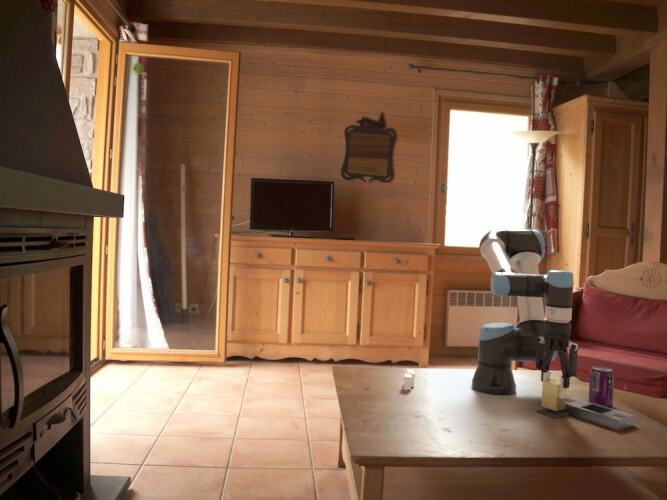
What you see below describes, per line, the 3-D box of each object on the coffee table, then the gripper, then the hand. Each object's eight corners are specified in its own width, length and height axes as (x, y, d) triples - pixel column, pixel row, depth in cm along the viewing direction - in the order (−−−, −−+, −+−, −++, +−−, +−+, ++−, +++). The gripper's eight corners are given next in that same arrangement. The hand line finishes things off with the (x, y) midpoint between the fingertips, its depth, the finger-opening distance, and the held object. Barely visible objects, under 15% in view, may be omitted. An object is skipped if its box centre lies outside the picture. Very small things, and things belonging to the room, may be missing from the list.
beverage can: (615, 409, 169) (617, 372, 168) (591, 406, 170) (593, 370, 170) (608, 402, 176) (610, 367, 175) (585, 400, 177) (587, 365, 177)
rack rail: (548, 408, 167) (549, 398, 167) (565, 404, 172) (565, 394, 172) (617, 430, 149) (618, 419, 149) (634, 425, 154) (634, 414, 154)
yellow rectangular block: (541, 406, 162) (542, 380, 162) (551, 403, 165) (552, 378, 165) (556, 411, 158) (557, 384, 158) (565, 408, 161) (567, 382, 161)
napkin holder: (407, 381, 195) (407, 365, 195) (432, 388, 187) (433, 372, 187) (381, 388, 184) (382, 372, 184) (407, 395, 176) (408, 379, 176)
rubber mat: (536, 411, 163) (536, 410, 163) (550, 408, 167) (550, 406, 167) (557, 418, 157) (557, 416, 157) (570, 415, 161) (570, 413, 161)
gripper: (525, 316, 166) (521, 389, 167) (578, 326, 151) (574, 405, 152) (539, 315, 171) (536, 386, 171) (592, 324, 156) (589, 401, 156)
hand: (554, 395), depth 162 cm, fingers closed on yellow rectangular block, 5 cm apart
